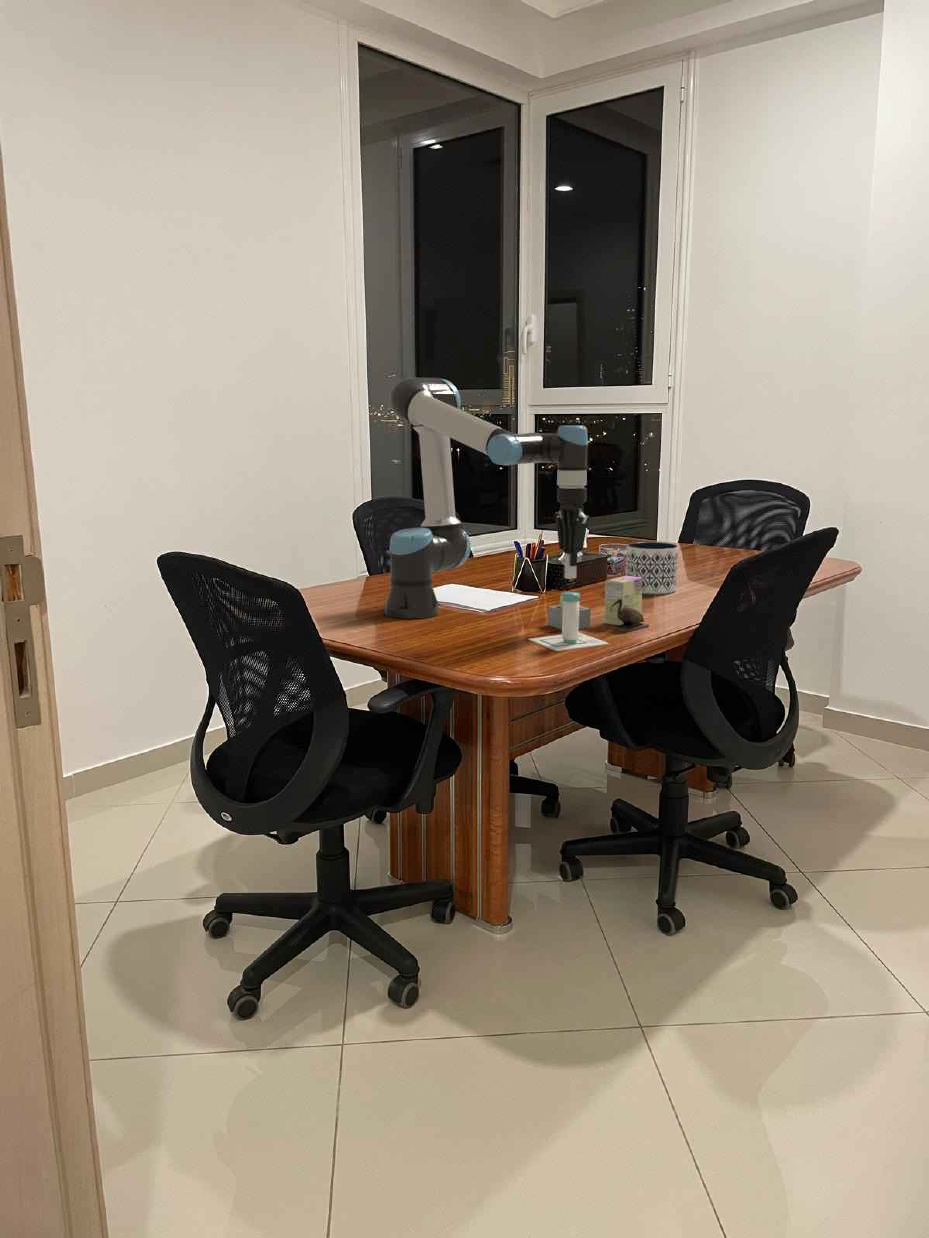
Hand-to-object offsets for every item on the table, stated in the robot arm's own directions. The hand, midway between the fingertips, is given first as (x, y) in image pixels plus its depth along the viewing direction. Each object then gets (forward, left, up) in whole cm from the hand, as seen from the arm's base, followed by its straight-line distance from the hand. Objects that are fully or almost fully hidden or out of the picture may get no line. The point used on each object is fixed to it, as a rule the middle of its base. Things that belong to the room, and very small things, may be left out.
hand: (570, 577), depth 249 cm
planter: (+52, +32, -13) cm, 62 cm away
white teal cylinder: (-11, -16, -13) cm, 23 cm away
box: (+16, -2, -13) cm, 21 cm away
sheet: (-10, -15, -13) cm, 22 cm away
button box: (0, 0, -13) cm, 13 cm away
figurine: (+11, -10, -13) cm, 20 cm away
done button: (0, 0, -11) cm, 11 cm away
